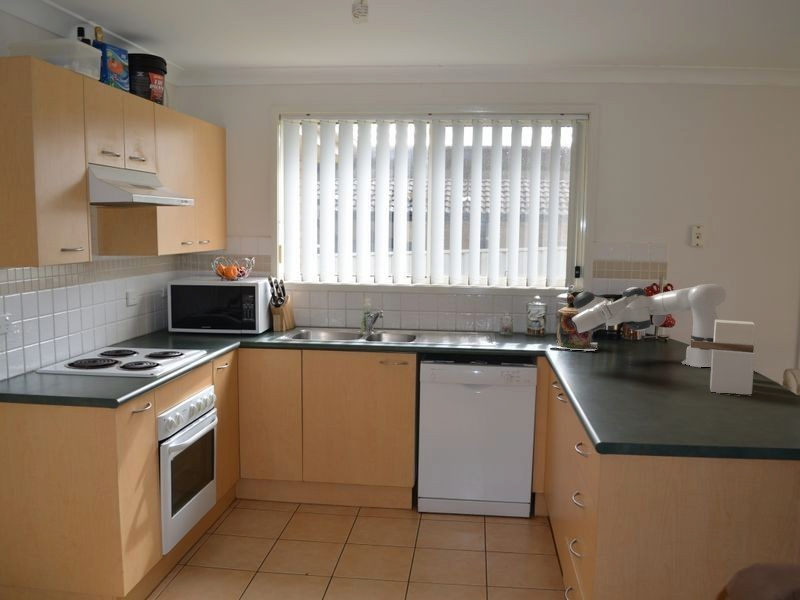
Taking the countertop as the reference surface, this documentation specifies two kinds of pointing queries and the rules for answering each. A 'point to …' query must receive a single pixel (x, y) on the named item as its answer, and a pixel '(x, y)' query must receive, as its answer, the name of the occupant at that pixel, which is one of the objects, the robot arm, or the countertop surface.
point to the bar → (722, 346)
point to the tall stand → (734, 332)
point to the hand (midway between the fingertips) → (636, 296)
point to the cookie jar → (572, 328)
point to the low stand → (732, 372)
